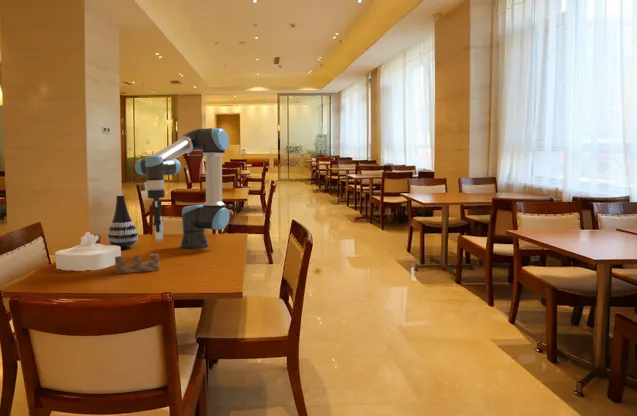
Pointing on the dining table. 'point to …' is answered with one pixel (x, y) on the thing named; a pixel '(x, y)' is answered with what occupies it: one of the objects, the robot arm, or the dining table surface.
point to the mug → (98, 238)
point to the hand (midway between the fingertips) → (158, 236)
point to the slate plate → (161, 230)
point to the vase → (122, 226)
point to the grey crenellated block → (137, 264)
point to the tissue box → (87, 255)
